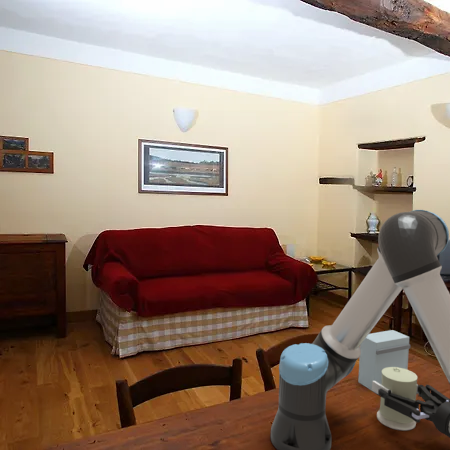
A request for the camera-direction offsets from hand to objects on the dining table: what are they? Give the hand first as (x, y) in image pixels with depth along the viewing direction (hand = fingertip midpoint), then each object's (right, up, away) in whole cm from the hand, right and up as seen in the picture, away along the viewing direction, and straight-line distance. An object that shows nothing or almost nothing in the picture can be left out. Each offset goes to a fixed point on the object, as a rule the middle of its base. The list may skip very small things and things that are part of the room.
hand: (385, 382), depth 117 cm
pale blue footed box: (+7, -8, +15) cm, 18 cm away
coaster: (+2, -9, -3) cm, 10 cm away
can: (+2, -8, -4) cm, 9 cm away
